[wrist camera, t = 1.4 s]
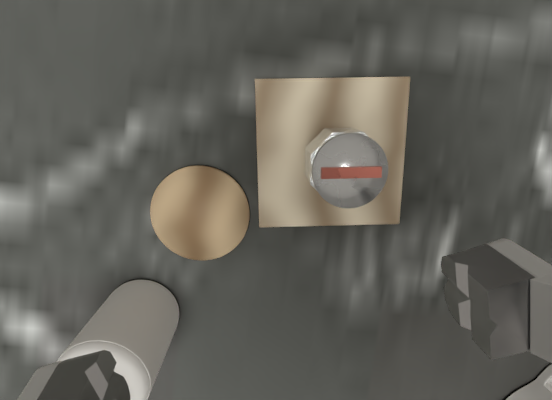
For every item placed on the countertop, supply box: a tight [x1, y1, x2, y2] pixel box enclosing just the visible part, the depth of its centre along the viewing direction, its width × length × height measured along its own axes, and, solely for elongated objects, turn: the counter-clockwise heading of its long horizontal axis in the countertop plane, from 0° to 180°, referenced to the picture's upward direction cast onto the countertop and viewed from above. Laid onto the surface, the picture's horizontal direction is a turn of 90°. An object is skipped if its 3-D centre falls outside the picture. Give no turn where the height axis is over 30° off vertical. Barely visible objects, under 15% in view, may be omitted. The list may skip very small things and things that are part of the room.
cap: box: [305, 128, 388, 208], centre depth 30 cm, size 6×6×6 cm
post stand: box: [255, 77, 410, 227], centre depth 33 cm, size 14×14×9 cm
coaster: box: [150, 165, 250, 260], centre depth 38 cm, size 10×10×1 cm
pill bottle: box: [57, 280, 179, 400], centre depth 34 cm, size 8×8×15 cm
